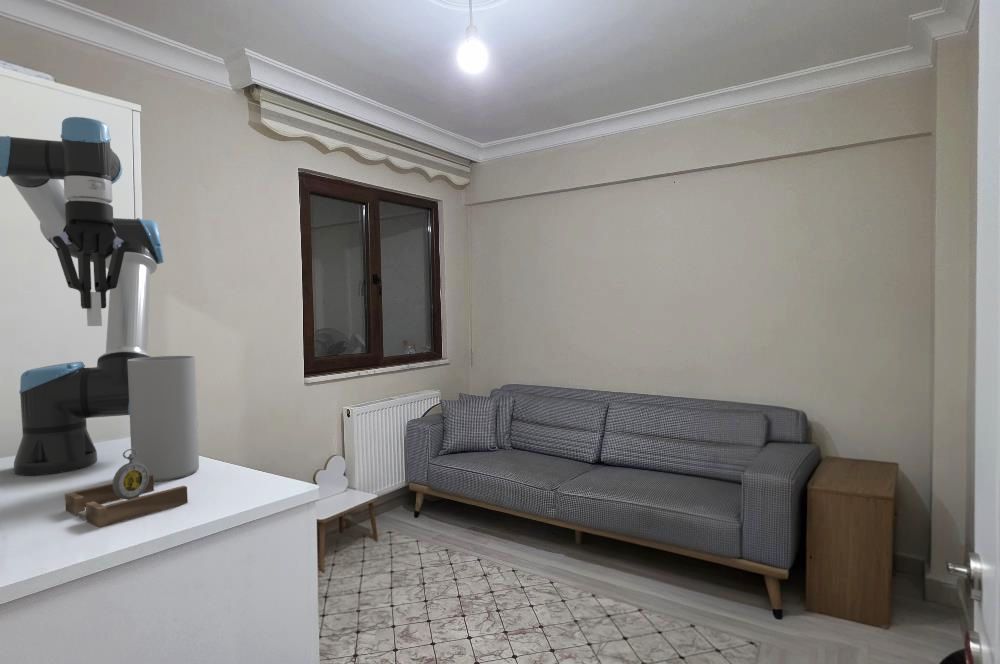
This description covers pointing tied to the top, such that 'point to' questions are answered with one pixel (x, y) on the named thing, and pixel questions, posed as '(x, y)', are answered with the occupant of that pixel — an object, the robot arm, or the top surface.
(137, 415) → the cylinder vase
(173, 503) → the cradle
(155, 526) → the top surface
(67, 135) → the robot arm
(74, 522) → the top surface
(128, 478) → the pocket watch
